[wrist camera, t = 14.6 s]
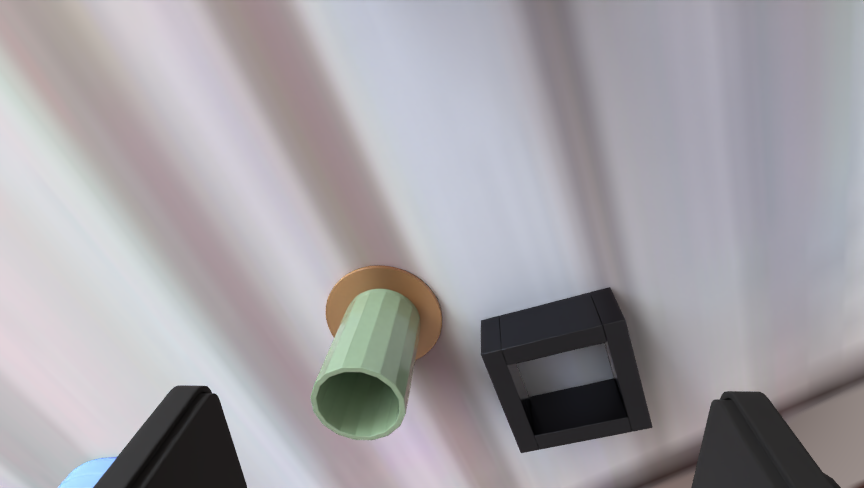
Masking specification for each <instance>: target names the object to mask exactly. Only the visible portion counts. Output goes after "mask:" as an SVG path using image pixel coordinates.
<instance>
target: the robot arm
mask: <svg viewBox="0 0 864 488" xmlns="http://www.w3.org/2000/svg"><path fill="white" fill-rule="evenodd" d="M93 488H247V485H246V482H245V479H244V475H243V472H242V469H241V466H240V463H239V460H238V457H237V453H236V450H235V447H234V444H233V441H232V438H231V435H230V432H229V428H228V425H227V422H226V419H225V416H224V413H223V410H222V406H221V403H220V400H219V398H218V396H217V395H216V394H212V392H211V390H210V389H209V388H208V387H207V386H176V387H174V388H173V389H172V390H171V391H170V392H169V393H168V394H167V396H166V397H165V398H164V399H163V401H162V402H161V403H160V404H159V406H158V407H157V408H156V409H155V411H154V412H153V413H152V414H151V416H150V417H149V418H148V419H147V421H146V422H145V423H144V424H143V426H142V427H141V428H140V429H139V431H138V432H137V433H136V434H135V436H134V437H133V438H132V439H131V441H130V442H129V443H128V444H127V446H126V447H125V448H124V449H123V451H122V452H121V453H120V454H119V456H118V457H117V458H116V459H115V461H114V462H113V463H112V464H111V466H110V467H109V468H108V469H107V471H106V472H105V473H104V474H103V476H102V477H101V478H100V479H99V481H98V482H97V483H96V484H95V486H94V487H93ZM692 488H841V487H840V486H839V485H838V484H837V483H836V482H835V481H834V480H833V479H832V478H831V477H829V476H828V475H826V474H824V473H823V472H822V471H821V470H820V468H819V467H818V465H817V464H816V463H815V461H814V460H813V459H812V457H811V456H810V455H809V453H808V452H807V451H806V449H805V448H804V446H803V445H802V444H801V442H800V441H799V440H798V438H797V437H796V436H795V434H794V433H793V431H792V430H791V429H790V427H789V426H788V425H787V423H786V422H785V421H784V419H783V418H782V416H781V415H780V414H779V412H778V411H777V410H776V408H775V407H774V406H773V404H772V403H771V402H770V400H769V399H768V398H767V397H766V396H765V395H764V394H763V393H761V392H732V391H728V392H724V393H723V394H722V396H721V398H720V400H713V401H712V403H711V406H710V411H709V415H708V419H707V424H706V428H705V432H704V436H703V441H702V445H701V449H700V454H699V458H698V462H697V466H696V471H695V475H694V479H693V484H692Z"/></svg>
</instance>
